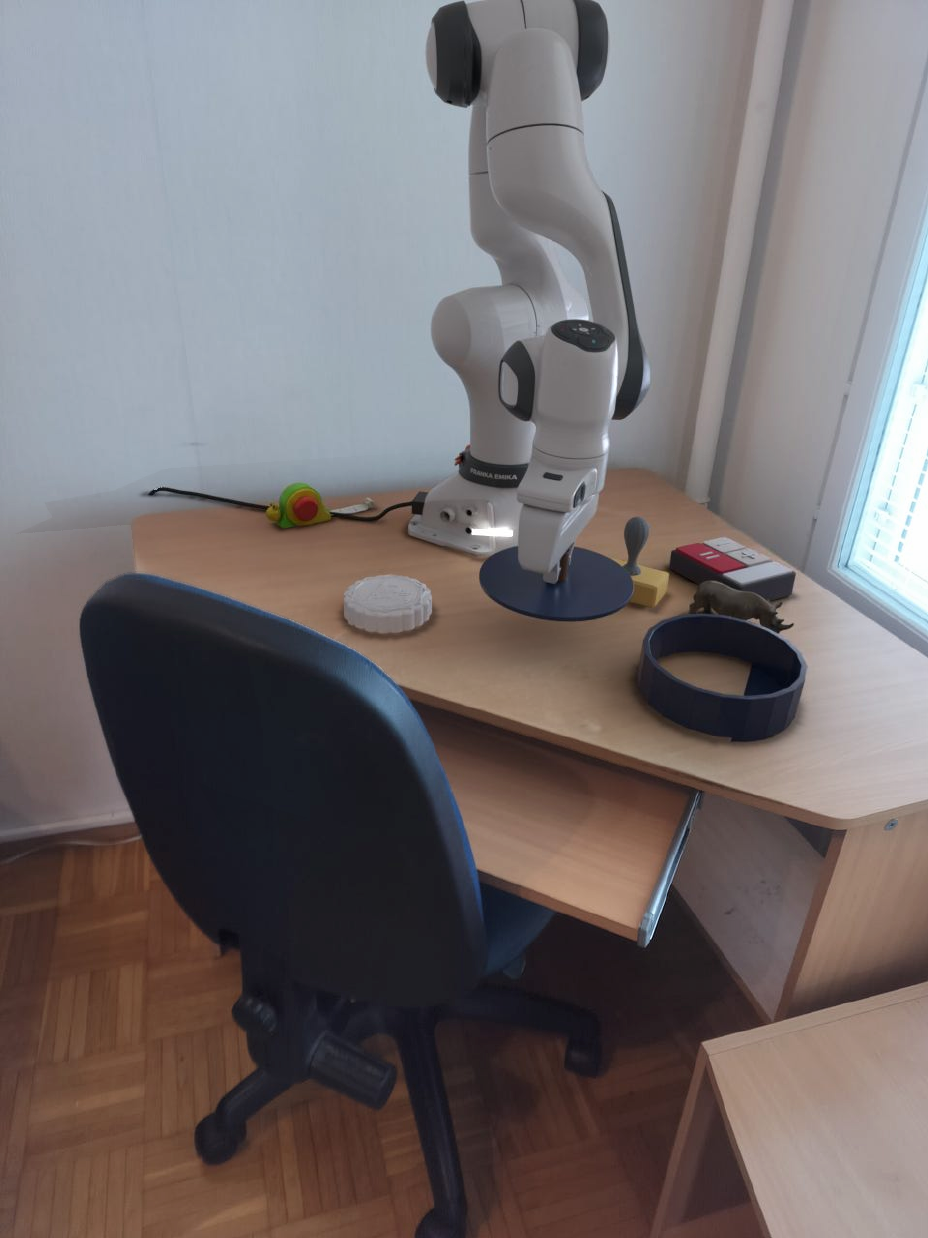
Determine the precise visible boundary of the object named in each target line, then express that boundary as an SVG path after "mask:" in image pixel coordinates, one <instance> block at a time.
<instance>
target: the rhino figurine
mask: <svg viewBox="0 0 928 1238" xmlns="http://www.w3.org/2000/svg"><path fill="white" fill-rule="evenodd" d="M782 605H783V601H779V602H778V603H776V604H771V603H770V602H768V600H765V599H764V598H762V597H761V596H759V595H758V594H756V593H753V592H749V591H739V590H736V589H732V588H730V587H728V586H726V585H724V584H722V583H720V582H717V581H705V582H703V583H701V584H700V585H699V584H698V586H697V589H696V592H695V593H694V595H693V602H692V603H690V604H689V611H688V614H698V613H697V611H699V610H700V609H702V613H703V614H713V615H715V613H716V614H717V615H725V616H729V617H734V618H738V619H743V620H747V621H749V620H751V619H754V620H758V622H759V625H760V626H763V627H766V628H768V629H771V630H772V631H774V632H776V633H777V634H779V635H780V633H781V632H782V631H787V630H789V629H792V628H793V627H794V625H795V623H794V622H792V623H790V624H784V623H783V622H784V621H785V619H784V618H779V617H778V616H777V615H778V614H779V612H778V611H777V610H778V609H780V608H781V607H782ZM713 611H714V612H715V613H714V612H713ZM688 614H687V615H688Z"/></svg>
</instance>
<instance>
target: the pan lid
mask: <svg viewBox="0 0 928 1238" xmlns="http://www.w3.org/2000/svg"><path fill="white" fill-rule="evenodd" d="M569 554H570V549H569V548H568V550H567V551H566V552H565V553H564V555H563V556H562V557H561V559H560V561H559V567H561V573H560V578H559V579H558V581H557V582H556V583H555V584H552V583H548V582H545V581H544V580H543V574H541V573H536V572H532V571H528V570H525V569H523V568H522V567H521V566H520V563H519V560H518V546H515V547H511V548H507V549H504V550H502V551H499V552H497V553H495V554H491V555H489V557H487V559H485V560H484V561H483V563H482V564H481V566H480V568H479V572H478V581H479V582H478V583H479V585H480V588H481V590H482V591H483V592H484V594H486V596H487V597H488V598H489V599H491V600H492V601H493V602H495V603H496V604H498V605H499V606H500V607H503V608H504V609H507V610H509V611H511V612H514V613H517V614H519V615H522V616H526V617H530V618H533V619H537V620H544V621H549V622H566V623H567V622H569V623H570V622H571V623H573V622H574V623H575V622H586V621H592V620H599V619H602V618H606V617H608V616H611V615H613V614H615V613H618V612H620V611H621V610H623V609H624V608H625V607H626V606H627V605H628V604H629V603H630V600H631V598H632V596H633V592H634V583H633V580H632V578H631V576H630V574H629V573H628V572H627V571H626V570H625V569H624V568H623V567H622V566H621V565H620V564H618V563H617V562H615V561H614V560H612V559H610V558H611V557H610V558H608V557H609V556H606V555H605V554H601V553H599V552H596V551H594V550H591V549H587V548H583V547H579V546H574V548H573V551H572V554H571V561H570V565H569V566H568V562H569Z"/></svg>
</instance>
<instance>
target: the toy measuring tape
mask: <svg viewBox="0 0 928 1238" xmlns="http://www.w3.org/2000/svg"><path fill="white" fill-rule="evenodd" d="M362 502H363V503H360V504H359V503H358V504H354V505H348V506H346V507H341V508H336V509H332V510H329V509H328V508H327V507H325V505H324V503H323V500H322V497H321V494H320V493H319V492H318V491H317V490H316V489H315V488H314V487H312V486H311V485H309V484H308V483H305V482H301V481H300V482H294V483H292V484H289V485H288V486H286V487H285V488H284V489H283V491H282V492H281V494H280V495H279V500H278V504H277V503H275V502H274V501H271V502H270V503H269V506H271V507H269V508H268V509H267V510H265V516H266V518H267V519H268V520H269V521H271V522H275V523H276V524H277V525H278V527H280V528H281V529H288V528H289V529H290V528H294V527H297V526H308V525H309V526H310V525H314V524H319V523H324V522H327V521H330V520H331V519H332V516H331V515H330V512H337V513H344V514H349V515H352V514H358V513H360V512H364V511H368V510H369V509H370V510H372V509H373V508H374V507H375V506H376V502H375V501H374V500H372V499H371V498H370V497H365V498H364V499H363V500H362ZM278 507H279V508H278ZM332 515H333V514H332Z"/></svg>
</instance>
